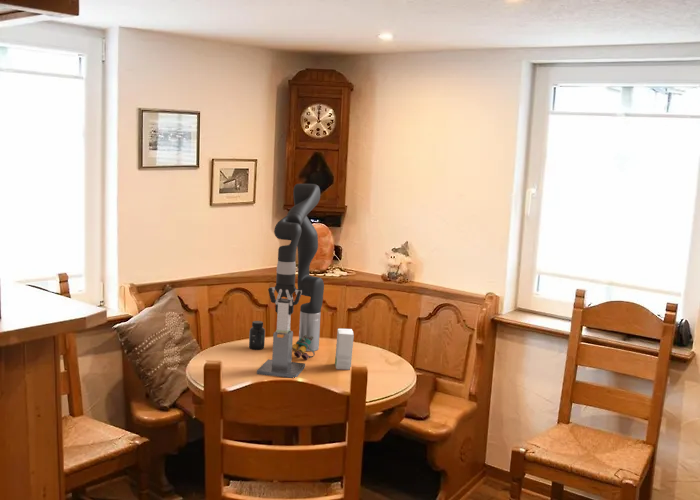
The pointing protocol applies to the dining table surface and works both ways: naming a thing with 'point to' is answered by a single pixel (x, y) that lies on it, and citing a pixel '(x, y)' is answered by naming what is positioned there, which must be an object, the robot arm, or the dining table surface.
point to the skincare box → (344, 349)
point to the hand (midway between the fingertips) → (284, 313)
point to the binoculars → (302, 347)
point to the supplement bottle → (257, 336)
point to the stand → (281, 358)
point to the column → (283, 317)
